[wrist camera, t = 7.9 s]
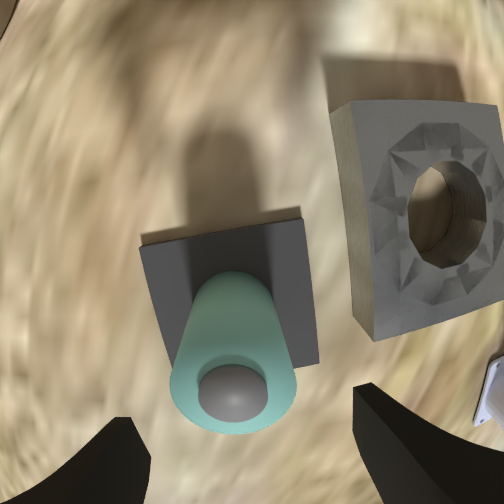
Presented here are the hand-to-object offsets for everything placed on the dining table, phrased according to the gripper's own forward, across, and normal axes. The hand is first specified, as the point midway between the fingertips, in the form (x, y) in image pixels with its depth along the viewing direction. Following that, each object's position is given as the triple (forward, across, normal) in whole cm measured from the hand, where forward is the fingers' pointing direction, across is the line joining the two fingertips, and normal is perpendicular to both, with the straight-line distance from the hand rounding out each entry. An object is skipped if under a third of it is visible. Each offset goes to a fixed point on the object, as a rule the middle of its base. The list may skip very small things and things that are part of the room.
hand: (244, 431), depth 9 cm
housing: (+10, -12, -4) cm, 16 cm away
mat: (+10, 0, 0) cm, 10 cm away
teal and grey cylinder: (+9, 0, 0) cm, 9 cm away
